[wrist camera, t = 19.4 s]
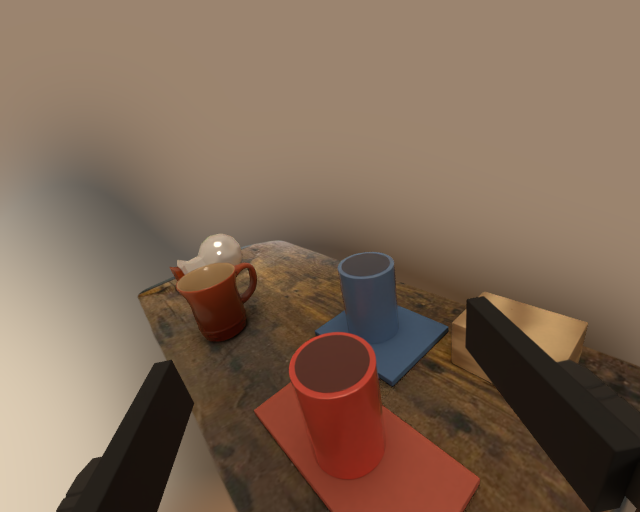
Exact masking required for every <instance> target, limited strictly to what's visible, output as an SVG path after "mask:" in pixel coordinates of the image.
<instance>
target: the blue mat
mask: <svg viewBox="0 0 640 512" xmlns="http://www.w3.org/2000/svg"><path fill="white" fill-rule="evenodd" d="M397 306H398V305H397ZM398 319H399V329H398V331H397V333H396V334H395V335H394V336H393V337H392V338H391V339H389V340H387V341H384V342H381V343H369V344H370V346H371V347H372V348H373V350H374V352H375V355H376V361H377V369H378V377H379V378H381V379H382V380H384V381H385V382H387V383H388V384H390V385H391V386H394V385H395V384H396V383H397V382H398V381H399V380H400V379H401V378H402V377H403V376H404V375H405V374H406V373H407V372H408V371H409V370H410V369H411V368H412V367H413V366H414V365H415V364H416V363H417V362H418V361H419V360H420V359H421V358H422V357H423V356H424V355H425V354H426V353H427V352H428V351H429V350H430V349H431V348H432V347H433V346H434V345H435V344H436V343H437V342H438V341H439V340H440V339H441V338H442V337H443V336H444V335H445V334H446V333H447V332H448V326H446V325H443V324H441V323H438V322H436V321H434V320H431V319H429V318H427V317H424V316H422V315H419V314H417V313H415V312H412V311H410V310H408V309H405V308H403V307H400V306H398ZM332 332H345V333H349V331H348V327H347V321H346V315H345V310H344V311H343V312H342V313H340V314H339V315H337V316H336V317H334V318H333V319H331V320H330V321H328V322H327V323H326V324H324V325H323V326H321V327H320V328H318V329H317V330H315V334H316V335H317V336H319V335H322V334H326V333H332Z"/></svg>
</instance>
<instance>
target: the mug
mask: <svg viewBox="0 0 640 512" xmlns="http://www.w3.org/2000/svg"><path fill="white" fill-rule="evenodd" d="M245 268H247V269H248V271H249V276H250V284H249V287H248V289H247V290H246V291H245V292H244V293H242V294H240V295H239V292H238V290H237V286H236V277H237V275H238V274H239V272H240V271H241V270H243V269H245ZM256 285H257V275H256V271H255V269H254V267H253V266H252V265H251V264H249V263H240V264H237V265H235V266H234V265H233V264H230V263H214V264H209V265H206V266H203V267H200V268H197V269H195V270H193V271H191V272H189V273H187V274H186V275H184V276H183V277H182V278H181V279H180V280H179V281H178V282H177V284H176V289H177V290H178V291H179V293H180V294H181V295H182V296H183V297H184V298H185V299H186V300H187V302H188V303H189V305H190V307H191V309H192V312H193V315H194V317H195V320H196V322H197V325H198V328H199V330H200V331H201V333H202V335H203V336H204V337H205V338H206V339H207V340H209V341H212V342H222V341H226V340H229V339H231V338H233V337H235V336H236V335H238V334H239V333H240V332H241V331H242V330H243V328H244V327H245V325H246V322H247V319H246V310H245V308H244V305H243V304H244V303H245V302H246V301H247V300H248V299H249V298H250V297H251V295H252V294H253V293H254V291H255V289H256Z"/></svg>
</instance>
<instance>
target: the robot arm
mask: <svg viewBox="0 0 640 512" xmlns="http://www.w3.org/2000/svg"><path fill="white" fill-rule="evenodd" d="M465 348H466V349H467V350H468V352H469V353H470V354H471V356H472V357H473V358H474V360H475V361H476V362H477V363H478V365H479V366H480V367H481V369H482V370H483V371H484V373H485V374H486V375H487V377H488V378H489V379H490V380H491V382H492V383H493V384H494V386H495V387H496V388H497V390H498V391H499V392H500V394H501V395H502V396H503V397H504V399H505V400H506V401H507V403H508V404H509V405H510V407H511V408H512V409H513V410H514V412H515V413H516V414H517V416H518V417H519V418H520V420H521V421H522V422H523V424H524V425H525V426H526V427H527V429H528V430H529V431H530V433H531V434H532V435H533V437H534V438H535V439H536V441H537V442H538V443H539V444H540V446H541V447H542V448H543V450H544V451H545V452H546V454H547V455H548V456H549V457H550V459H551V460H552V461H553V463H554V464H555V465H556V467H557V468H558V469H559V471H560V472H561V473H562V474H563V476H564V477H565V478H566V480H567V481H568V482H569V484H570V485H571V486H572V488H573V489H574V490H575V491H576V493H577V494H578V495H579V497H580V498H581V499H582V501H583V502H584V503H585V504H586V506H587V507H588V508H589V510H590V511H591V512H602V511H606V510H611V509H616V508H620V506H621V503H622V501H623V499H624V497H625V496H626V497H627V498H628V499H629V500H630V501H631V503H632V504H633V505H634V506H635V507H636V508H637V509H636V511H635V512H640V412H639V411H638V410H637V409H635V408H634V407H633V406H632V405H631V404H629V403H628V402H627V401H626V400H625V399H623V398H622V397H619V396H618V393H616V392H615V391H614V390H613V389H612V388H610V387H609V386H608V385H607V386H606V385H605V383H604V382H603V381H602V380H601V379H600V378H598V377H597V376H596V375H595V374H594V373H592V372H591V371H590V370H589V369H587V368H585V367H583V366H581V365H579V364H577V363H575V362H574V361H572V360H570V359H569V360H564V361H559V362H556V361H555V360H554V359H553V358H551V357H550V356H549V355H548V354H547V353H546V352H545V351H544V350H543V349H542V348H540V347H539V346H538V345H537V344H536V343H535V342H534V341H533V340H532V339H531V338H529V337H528V336H527V335H526V334H525V333H524V332H523V331H522V330H521V329H520V328H519V327H517V326H516V325H515V324H514V323H513V322H512V321H511V320H510V319H509V318H508V317H506V316H505V315H504V314H503V313H502V312H501V311H500V310H499V309H498V308H497V307H496V306H494V305H493V304H492V303H491V302H490V301H489V300H488V299H487V298H486V297H485V296H481V297H476V298H471V299H467V307H466V339H465ZM193 405H194V402H193V400H192V398H191V396H190V394H189V392H188V390H187V388H186V386H185V385H184V383H183V381H182V379H181V377H180V375H179V373H178V371H177V369H176V367H175V365H174V363H173V361H172V360H169V361H164V362H159V363H155V364H154V365H153V367H152V369H151V370H150V372H149V374H148V376H147V377H146V379H145V381H144V383H143V385H142V386H141V388H140V390H139V392H138V393H137V395H136V397H135V399H134V401H133V403H132V404H131V406H130V408H129V410H128V412H127V413H126V415H125V417H124V419H123V420H122V422H121V424H120V426H119V428H118V429H117V431H116V433H115V435H114V436H113V438H112V440H111V442H110V443H109V445H108V447H107V449H106V451H105V453H104V454H103V456H102V457H98V458H93V459H92V460H91V461H90V462H89V463H88V464H87V466H86V467H85V468H84V469H83V470H82V471H81V472H80V473H79V474H78V475H77V477H76V479H75V480H74V482H73V484H72V485H71V487H70V489H69V490H68V492H67V494H66V498H64V499H63V500H62V502H61V503H60V505H59V507H58V508H57V510H56V512H157V511H158V508H159V505H160V502H161V499H162V496H163V493H164V489H165V487H166V484H167V481H168V478H169V476H170V472H171V469H172V467H173V464H174V461H175V458H176V455H177V452H178V449H179V446H180V443H181V440H182V437H183V435H184V432H185V429H186V426H187V423H188V420H189V417H190V414H191V411H192V408H193Z"/></svg>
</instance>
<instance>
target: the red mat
mask: <svg viewBox="0 0 640 512" xmlns="http://www.w3.org/2000/svg"><path fill="white" fill-rule="evenodd" d="M382 409H383V417H384V425H385V433H386V448H385V452H384V455H383V457H382V459H381V461H380V463H379V464H378V465H377V466H376V467H375V468H374V469H373V470H372V471H371V472H370V473H368V474H366V475H365V476H362V477H360V478H356V479H349V480H347V479H339V478H336V477H333V476H331V475H329V474H327V473H326V472H325V471H323V470H322V469H321V468H320V467H319V465H318V464H317V463H316V461H315V459H314V456H313V454H312V450H311V447H310V444H309V440H308V437H307V434H306V430H305V427H304V424H303V420H302V417H301V413H300V410H299V407H298V403H297V400H296V397H295V393H294V390H293V387H292V383H291V382H290V383H289V384H288V385H287V386H285V387H284V388H283V389H281V390H280V391H279V392H277V393H276V394H275V395H273V396H272V397H271V398H270V399H268V400H267V401H266V402H264V403H263V404H262V405H260V406H259V407H258V408H256V409H255V410H254V412H255V414H256V416H257V417H258V418H259V420H260V421H261V422H262V424H263V425H264V426H265V427H266V429H267V430H268V431H269V433H270V434H271V435H272V437H273V438H274V439H275V440H276V442H277V443H278V444H279V446H280V447H281V448H282V449H283V451H284V452H285V453H286V455H287V456H288V457H289V459H290V460H291V461H292V462H293V464H294V465H295V466H296V468H297V469H298V470H299V471H300V473H301V474H302V475H303V477H304V478H305V479H306V481H307V482H308V483H309V484H310V486H311V487H312V488H313V490H314V491H315V492H316V493H317V495H318V496H319V497H320V499H321V500H322V501H323V503H324V504H325V505H326V506H327V508H328V509H329V510H330V512H463V511H464V509H465V508H466V506H467V504H468V502H469V501H470V499H471V497H472V496H473V494H474V492H475V491H476V489H477V487H478V486H479V483H480V478H479V477H477V476H476V475H475V474H473V473H472V472H471V471H469V470H468V469H467V468H465V467H464V466H463V465H461V464H460V463H459V462H457V461H456V460H455V459H453V458H452V457H451V456H449V455H448V454H447V453H445V452H444V451H443V450H441V449H440V448H439V447H437V446H436V445H435V444H433V443H432V442H431V441H429V440H428V439H427V438H425V437H424V436H423V435H421V434H420V433H419V432H417V431H416V430H415V429H413V428H412V427H411V426H409V425H408V424H407V423H405V422H404V421H403V420H401V419H400V418H399V417H397V416H396V415H395V414H393V413H392V412H391V411H389V410H388V409H387V408H385V407H384V406H383V405H382Z"/></svg>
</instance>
